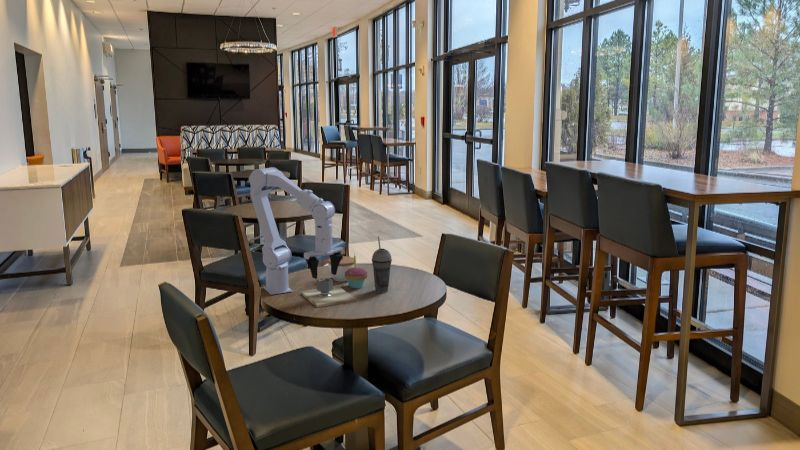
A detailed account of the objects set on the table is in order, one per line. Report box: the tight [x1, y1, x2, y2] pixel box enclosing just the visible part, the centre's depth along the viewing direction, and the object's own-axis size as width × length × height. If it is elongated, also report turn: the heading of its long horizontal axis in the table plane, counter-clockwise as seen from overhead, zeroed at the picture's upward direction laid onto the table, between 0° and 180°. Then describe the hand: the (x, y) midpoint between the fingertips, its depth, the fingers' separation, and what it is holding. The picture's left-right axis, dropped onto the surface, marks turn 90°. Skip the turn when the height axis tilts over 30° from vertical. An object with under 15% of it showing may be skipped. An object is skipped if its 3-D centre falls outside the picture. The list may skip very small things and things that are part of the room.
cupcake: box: [345, 253, 368, 289], centre depth 216 cm, size 9×8×12 cm
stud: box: [319, 292, 331, 297], centre depth 204 cm, size 4×4×2 cm
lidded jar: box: [327, 255, 354, 282], centre depth 225 cm, size 11×11×9 cm
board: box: [300, 285, 357, 308], centre depth 204 cm, size 16×14×1 cm
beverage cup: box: [371, 236, 393, 294], centre depth 210 cm, size 7×7×20 cm
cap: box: [316, 277, 334, 292], centre depth 203 cm, size 5×6×4 cm
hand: (324, 276), depth 203 cm, fingers open, 7 cm apart
